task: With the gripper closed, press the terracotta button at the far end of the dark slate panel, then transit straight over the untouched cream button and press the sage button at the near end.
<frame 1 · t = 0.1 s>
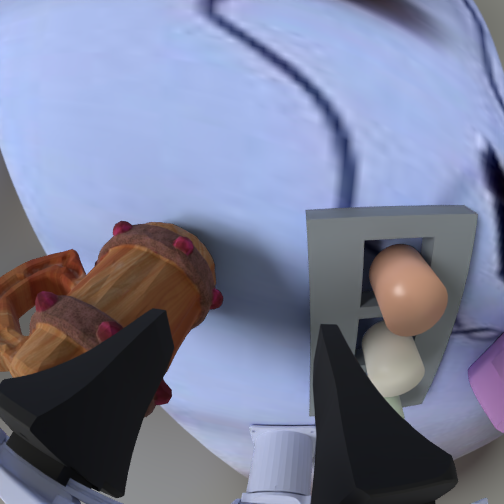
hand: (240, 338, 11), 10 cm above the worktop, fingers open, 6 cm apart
mug: (147, 247, 21), on the worktop, touching gripper
button cream: (391, 358, 18), point 4 cm above the worktop, slide at 0.0 cm
button sage: (378, 404, 20), point 4 cm above the worktop, slide at 0.0 cm
panel: (381, 325, 21), on the worktop
button terracotta: (406, 288, 16), point 4 cm above the worktop, slide at 0.0 cm
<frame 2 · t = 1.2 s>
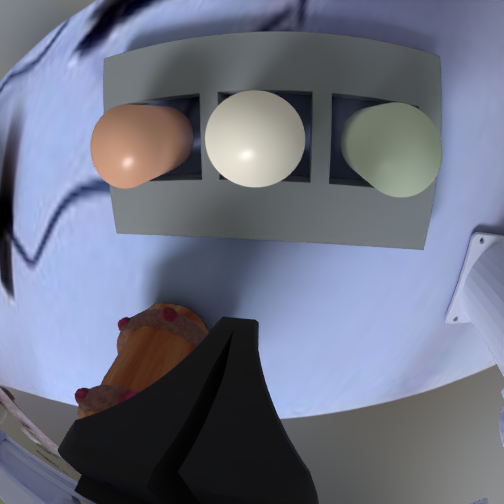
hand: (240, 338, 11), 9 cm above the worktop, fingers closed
mug: (175, 349, 25), on the worktop
button cream: (260, 136, 13), point 4 cm above the worktop, slide at 0.0 cm
house plant: (0, 403, 60), on the worktop
button sage: (386, 145, 12), point 4 cm above the worktop, slide at 0.0 cm
panel: (267, 134, 16), on the worktop
button terracotta: (144, 142, 13), point 4 cm above the worktop, slide at 0.0 cm
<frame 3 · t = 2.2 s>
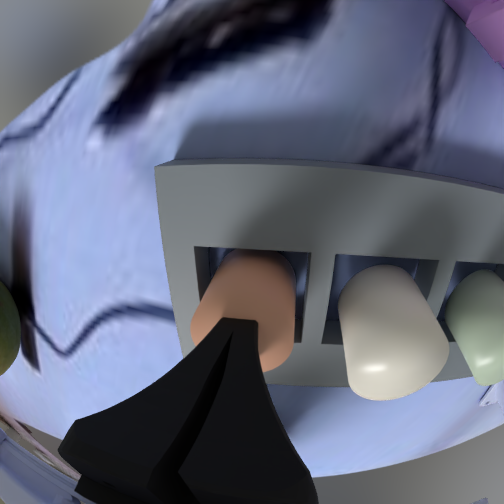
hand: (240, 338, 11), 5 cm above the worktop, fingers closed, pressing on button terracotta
button cream: (388, 331, 11), point 4 cm above the worktop, slide at 0.0 cm
house plant: (13, 429, 58), on the worktop
fruit: (3, 293, 21), on the worktop
button sage: (491, 326, 10), point 4 cm above the worktop, slide at 0.0 cm
panel: (371, 283, 14), on the worktop
button terracotta: (249, 307, 13), point 3 cm above the worktop, slide at 1.2 cm, touching gripper
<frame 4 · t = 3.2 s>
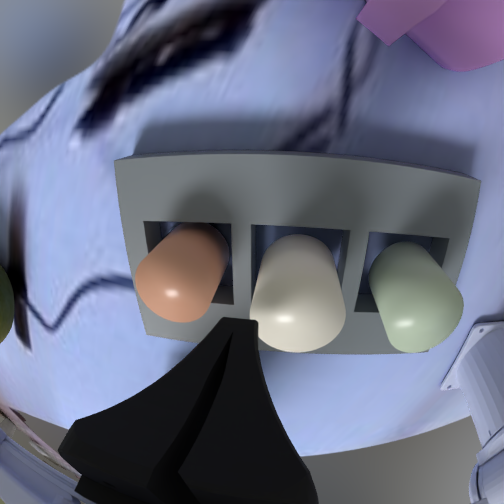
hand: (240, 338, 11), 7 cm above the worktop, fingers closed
button cream: (298, 290, 14), point 4 cm above the worktop, slide at 0.0 cm
house plant: (8, 419, 60), on the worktop
fruit: (0, 275, 23), on the worktop
button sage: (413, 294, 13), point 4 cm above the worktop, slide at 0.0 cm
panel: (297, 254, 17), on the worktop
button terracotta: (185, 268, 15), point 3 cm above the worktop, slide at 1.3 cm
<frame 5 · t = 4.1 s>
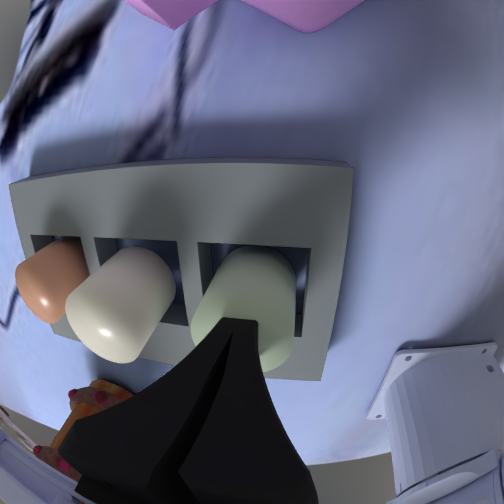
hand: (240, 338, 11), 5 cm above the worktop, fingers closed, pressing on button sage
mug: (124, 408, 25), on the worktop
button cream: (122, 302, 13), point 4 cm above the worktop, slide at 0.0 cm
button sage: (249, 307, 13), point 3 cm above the worktop, slide at 0.8 cm, touching gripper
panel: (155, 265, 16), on the worktop
button terracotta: (57, 276, 15), point 3 cm above the worktop, slide at 1.3 cm
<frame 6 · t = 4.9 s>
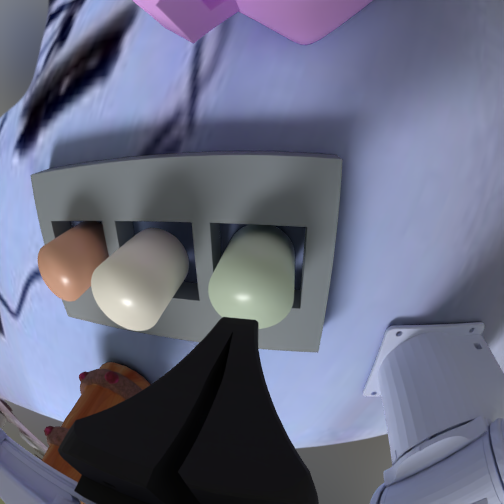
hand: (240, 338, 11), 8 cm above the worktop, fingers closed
mug: (132, 391, 27), on the worktop
button cream: (142, 276, 15), point 4 cm above the worktop, slide at 0.0 cm
button sage: (256, 273, 15), point 3 cm above the worktop, slide at 1.3 cm
panel: (168, 247, 18), on the worktop
button terracotta: (77, 258, 17), point 3 cm above the worktop, slide at 1.3 cm
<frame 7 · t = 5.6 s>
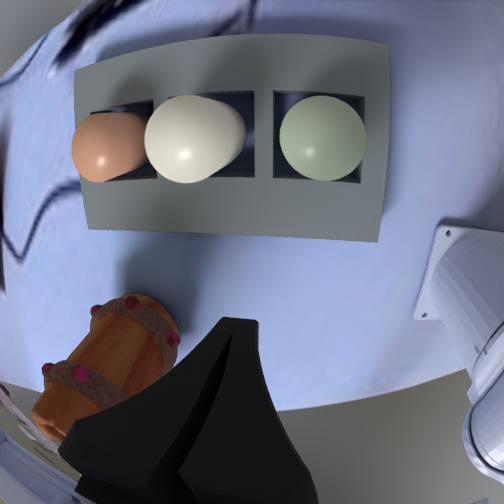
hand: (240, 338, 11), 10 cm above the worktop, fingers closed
mug: (149, 338, 26), on the worktop
button cream: (199, 136, 14), point 4 cm above the worktop, slide at 0.0 cm
button sage: (319, 136, 14), point 3 cm above the worktop, slide at 1.3 cm
panel: (219, 133, 17), on the worktop
button terracotta: (116, 143, 15), point 3 cm above the worktop, slide at 1.3 cm
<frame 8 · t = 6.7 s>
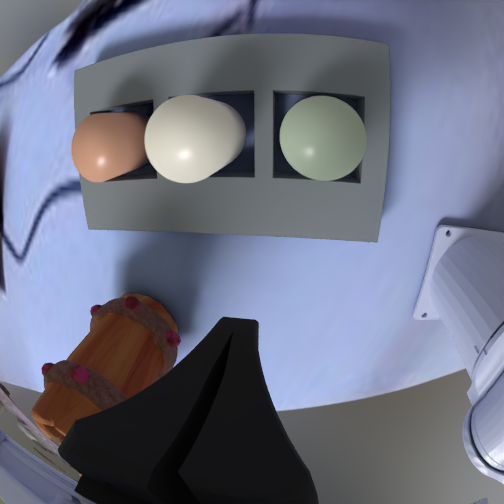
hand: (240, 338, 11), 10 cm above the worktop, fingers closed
mug: (149, 338, 26), on the worktop
button cream: (199, 136, 14), point 4 cm above the worktop, slide at 0.0 cm
button sage: (319, 136, 14), point 3 cm above the worktop, slide at 1.3 cm
panel: (219, 133, 17), on the worktop
button terracotta: (116, 143, 15), point 3 cm above the worktop, slide at 1.3 cm
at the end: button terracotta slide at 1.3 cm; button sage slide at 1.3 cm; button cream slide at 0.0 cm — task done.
